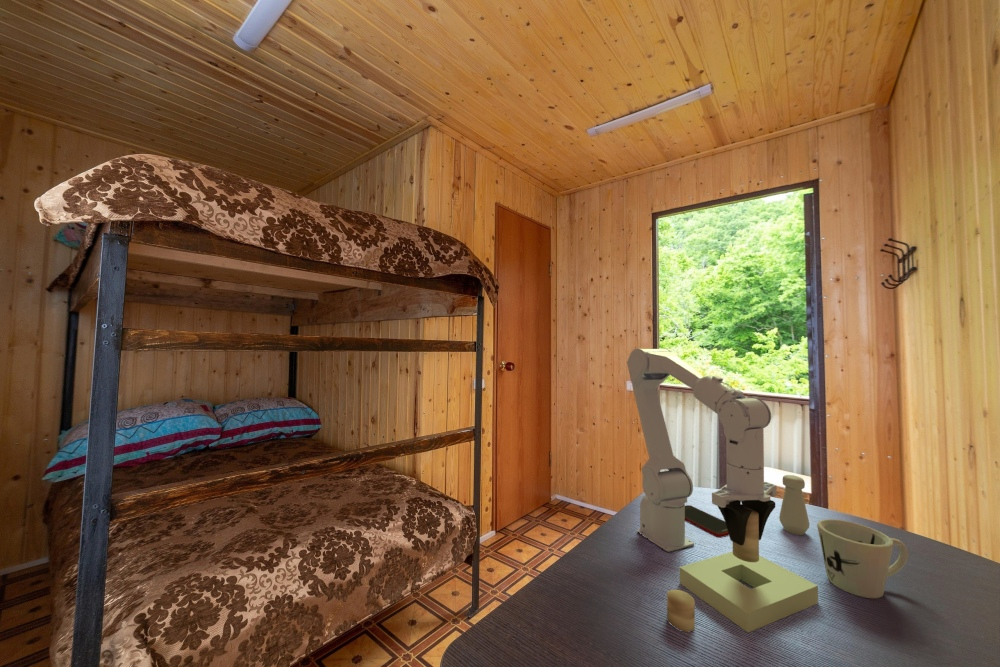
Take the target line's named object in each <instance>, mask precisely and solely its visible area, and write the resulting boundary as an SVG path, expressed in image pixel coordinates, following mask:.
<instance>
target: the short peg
mask: <svg viewBox="0 0 1000 667" xmlns="http://www.w3.org/2000/svg"><path fill="white" fill-rule="evenodd" d="M695 601H696V600H695V599H694V597H693V596H692V595H691V594H690V593H688V592H686V591H684V590H680V589H670V590H668V591H667V593H666V610H667V611H666V620H667V619H668V621H669V622H670V623H671V624H672V625H673V626H675V627H676V628H678V629H679V630H682V631H686V632H685V633H689V632H688V631H692V632H693V631H694V630H695V629H694V628H695V626H696V625H695V624H696V622H695V621H696V619H695V617H696V616H695V612H696V611H695V610H696V609H695V606H696V604H695ZM668 621H667V622H668Z"/></svg>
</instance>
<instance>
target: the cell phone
mask: <svg viewBox="0 0 1000 667" xmlns="http://www.w3.org/2000/svg"><path fill="white" fill-rule="evenodd" d="M686 520H687V521H689V522H690V523H689V522H688V523H689V524H691V523H692V525H693V524H694V525H693V526H696V527H698V528H699V529H701V530H703V531H705V532H707V533H709V534H711V535H713V536H715V537H718V538H723V537H726V536H729V533H728V529H727V526H726V523H725V520H724V519H723V520H722V519H721V518H718V517H716V516H714V515H712V514H710V513H708V512H705V511H703V510H701V509H699V508H697V507H695V506H692V505H687V504H686V505H685V521H686ZM687 521H686V522H687Z"/></svg>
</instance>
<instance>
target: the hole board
mask: <svg viewBox="0 0 1000 667" xmlns="http://www.w3.org/2000/svg"><path fill="white" fill-rule="evenodd" d="M741 581H742V582H744V583H745V584H747V585H749V586H751V587H752V588H751V587H748V586H747V585H745V584H744V583H742V582H741ZM680 583H681V584H682V585H681V584H680ZM679 584H680V585H681V586H683V587H684V586H685V587H686V588H685V589H687V590H688V591H690V592H691V593H693V594H694V595H695V596H697V597H698V598H699V599H700V600H702V601H703V602H705V603H707V604H708V605H709V606H710V607H711V608H713V609H715V611H718V613H720V614H722V615H723V616H724V617H725V618H727V619H729V620H730V621H731V622H733V624H736V625H737V626H738V627H739V628H740V629H742V630H743V631H745V632H746V633H748V634H749V633H751V632H754V631H755V630H758V629H760V628H762V627H765V626H768V625H770V624H772V623H774V622H777V621H779V620H782V619H785V618H786V617H788V616H791V615H793V614H796V613H798V612H800V611H803V610H806V609H807V608H810V607H812V606H815V605H818V604H819V585H818V584H815V583H813V582H812V581H810V580H807V579H806V578H804V577H802V576H801V575H799V574H797V573H795V572H792V571H790V570H788V569H787V568H784V567H783V566H780V564H777V563H775V562H772V560H769V559H768V558H765V557H764V556H761V555H759V561H758V562H747V561H743V560H741V559H739V558H737V557H735V556H734V555H733V550H732V551H729V552H727V553H722V554H719V555H715V556H712V557H710V558H706V559H702V560H699V561H695V562H693V563H688V564H686V565H681V566H679Z"/></svg>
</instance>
